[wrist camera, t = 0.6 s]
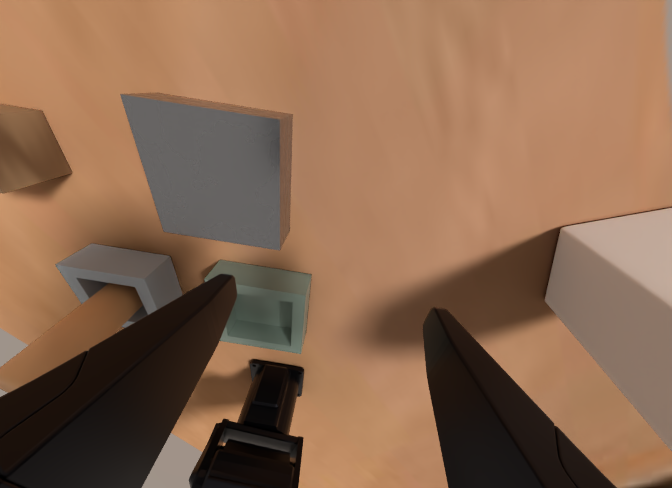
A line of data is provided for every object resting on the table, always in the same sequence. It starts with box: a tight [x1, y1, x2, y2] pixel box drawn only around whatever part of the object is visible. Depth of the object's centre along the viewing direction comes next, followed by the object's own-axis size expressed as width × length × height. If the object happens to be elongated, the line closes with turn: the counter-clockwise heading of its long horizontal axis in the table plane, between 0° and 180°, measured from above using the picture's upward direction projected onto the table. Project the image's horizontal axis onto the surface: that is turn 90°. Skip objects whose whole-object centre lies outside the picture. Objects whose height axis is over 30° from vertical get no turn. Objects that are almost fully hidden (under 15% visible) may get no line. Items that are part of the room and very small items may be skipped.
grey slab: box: [120, 93, 293, 250], centre depth 15 cm, size 8×8×3 cm
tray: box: [204, 260, 312, 354], centre depth 22 cm, size 8×8×2 cm
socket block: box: [55, 243, 183, 328], centre depth 22 cm, size 7×7×3 cm
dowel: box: [0, 283, 143, 393], centre depth 19 cm, size 3×3×10 cm
